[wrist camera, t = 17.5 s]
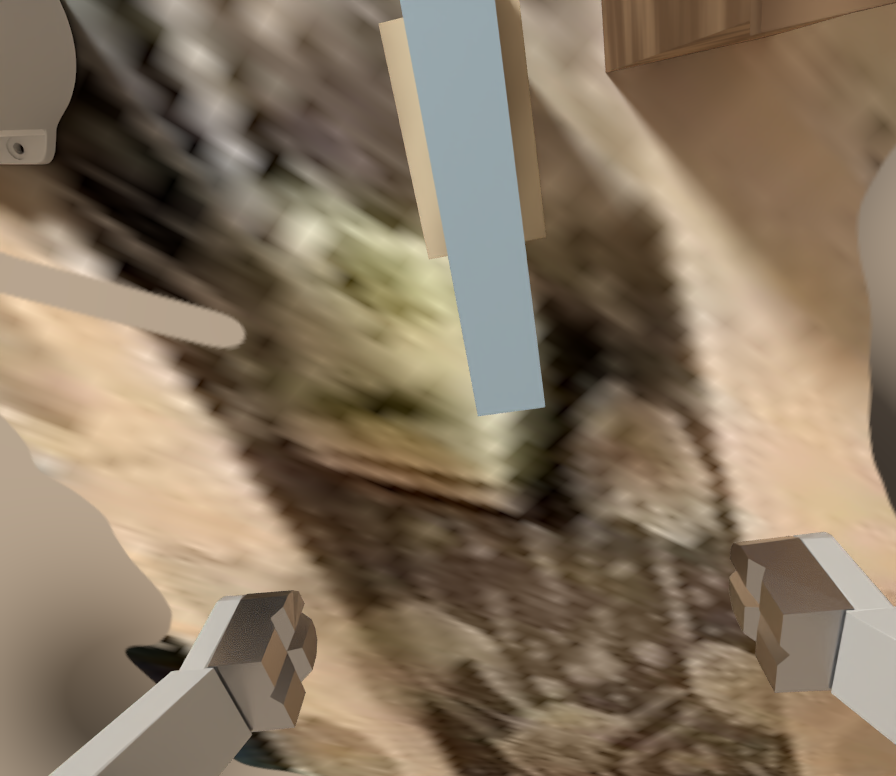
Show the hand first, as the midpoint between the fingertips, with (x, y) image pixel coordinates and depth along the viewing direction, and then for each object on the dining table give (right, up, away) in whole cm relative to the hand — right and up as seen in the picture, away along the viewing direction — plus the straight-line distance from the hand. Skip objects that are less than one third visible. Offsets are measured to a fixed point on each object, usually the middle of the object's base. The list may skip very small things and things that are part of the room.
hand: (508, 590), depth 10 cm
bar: (+1, +14, +20) cm, 25 cm away
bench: (+1, +24, +32) cm, 40 cm away
